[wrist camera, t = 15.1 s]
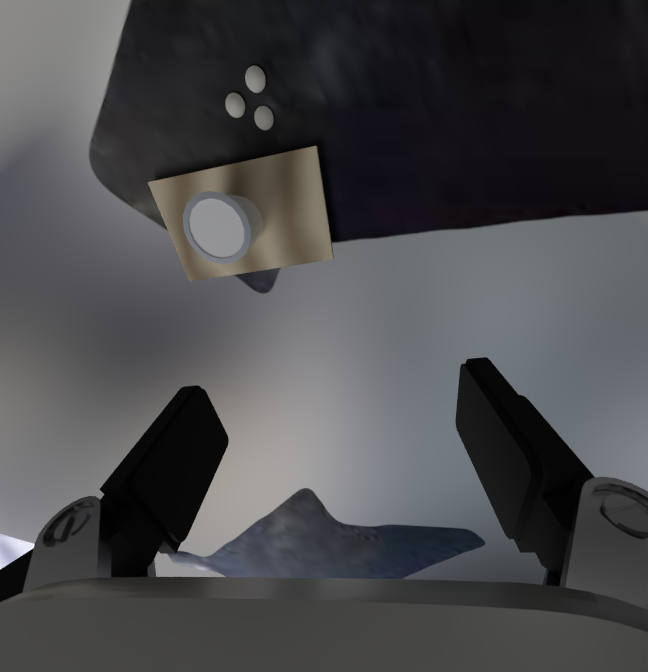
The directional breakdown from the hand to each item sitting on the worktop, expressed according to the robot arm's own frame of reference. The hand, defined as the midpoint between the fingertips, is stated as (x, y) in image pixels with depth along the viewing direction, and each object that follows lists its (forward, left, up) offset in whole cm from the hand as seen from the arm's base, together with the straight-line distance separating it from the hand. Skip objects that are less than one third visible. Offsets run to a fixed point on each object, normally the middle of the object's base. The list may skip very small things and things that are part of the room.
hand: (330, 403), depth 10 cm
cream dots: (+7, -16, -28) cm, 33 cm away
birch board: (+11, -5, -28) cm, 31 cm away
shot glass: (+11, -5, -27) cm, 30 cm away
